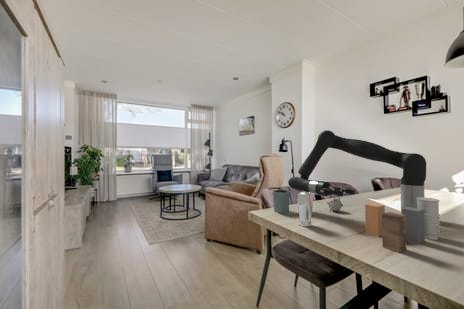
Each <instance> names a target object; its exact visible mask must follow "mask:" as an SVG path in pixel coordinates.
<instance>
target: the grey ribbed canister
mask: <svg viewBox="0 0 464 309" xmlns="http://www.w3.org/2000/svg"><path fill="white" fill-rule="evenodd" d="M416 199H417V209H423V210H424V239H425V240H426V239H427V240H436V241H437V240H439V237H438V235H440V234H441V232H440V226H441V223H440V222H441V218H440V217H441V214H440V212H439V210H440V207H439V206H440V204H439V202H440V199H437V198H433V197H424V198H423V197H418V198H416Z"/></svg>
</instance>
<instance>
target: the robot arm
mask: <svg viewBox="0 0 464 309" xmlns="http://www.w3.org/2000/svg"><path fill="white" fill-rule="evenodd" d="M328 149H334V150H339V151H342V152H345V153H347V154H350V155H352V156H356V157H358V158H362V159H365V160H369V161H373V162H374V161H375V162H378V163H379V162H381V163H385V164H388V165H391V166H395V167H397V168H399V169H402V177H401V178H400V214H402V208H406V207H412V208H417V199H416V198H418V197H423V198H425V182H426V179H427V160H426V159H425V157H424V156H423V155H422V154H420V153H413V152H412V153H411V152H410V153H409V152H401V151H396V150H392V149H389V148H386V147H385V146H382V145H379V144H377V143H374V142H371V141H368V140H361V139H356V138H346V137H342V136H339V135H336V134H335V133H334V132H333V131H331V130H327V129H326V130H323V131H321V132H320V133H319V134H318V136H317V140H316V142H315V145H314V147H313V148H312V150H311V152H310V153H309V155H308V156H307V157H306V158H305V160H304V161H303V163H301V166H300V168H298V174H299V175H300V176H292V177H290V178H289V179H288V181H287V183H288V186H289V187H290V188H291V189H293V190H295V191H297V192H309V193H312V195H317V196H322V197H328V196H329V197H330V196H339V197H343V196H344V194H347V195H355V194H356V193H355V189H351V188H349V187H344V186H336V185H332V184H331V183H330V182H328V181H324V180H323V181H322V180H313V179H309V178H310V176H311V175H312V173H313V172H314V170H315V168H316V167H317V165H318V163H319V162H320V160H321V158H322V157H323V155H324V154H325V153H326V151H327V150H328Z"/></svg>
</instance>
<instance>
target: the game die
mask: <svg viewBox="0 0 464 309" xmlns="http://www.w3.org/2000/svg"><path fill="white" fill-rule="evenodd" d="M329 197H330V198H329V200H328V202H327V205H328V207H329V212H331V211H336V212H339V213H340V212H341V211H340V210H341V209H342V207H344V205H343V203H342V201H341V197H339V198H338V197H336V198H335V197H331V196H329Z"/></svg>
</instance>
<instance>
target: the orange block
mask: <svg viewBox="0 0 464 309" xmlns="http://www.w3.org/2000/svg"><path fill="white" fill-rule="evenodd" d="M364 205H365V206H364V210H365V212H364V214H365V216H364V219H365V220H364V221H365V223H364V225H365V233H366V234H368V235H372V236H375V237H378V238H379V237H381V236H382V213H386V208H385V206H386V205H385V204H380V203H374V202H371V203H370V202H369V203H365V204H364Z"/></svg>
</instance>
